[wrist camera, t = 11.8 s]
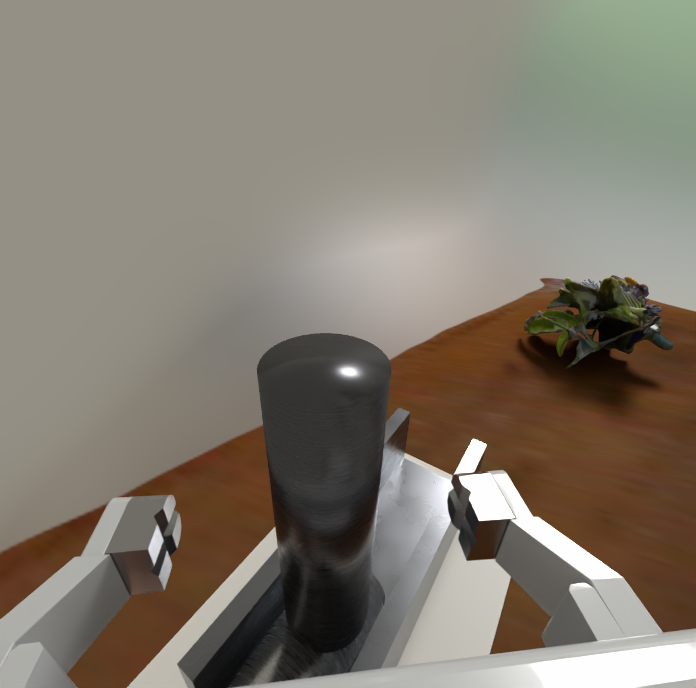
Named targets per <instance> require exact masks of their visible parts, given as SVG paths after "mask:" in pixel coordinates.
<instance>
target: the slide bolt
mask: <svg viewBox="0 0 696 688" xmlns="http://www.w3.org/2000/svg"><path fill="white" fill-rule="evenodd" d="M257 375H258V383H259V392H260V401H261V408H262V418H263V426H264V435H265V443H266V452H267V460H268V469H269V478H270V486H271V495H272V503H273V512H274V520H275V529H276V537H277V546H278V554H279V563H280V572H281V580H282V589H283V597H284V606H285V610H284V611H283V612H282V614H281V615H280V617H279V618H278V619H277V621H276V622H275V623H274V625H273V626H272V627H271V629H270V630H269V631H268V633H267V634H266V636H265V637H264V638H263V640H262V641H261V642H260V644H259V645H258V646H257V648H256V649H255V650H254V652H253V653H252V655H251V656H250V657H249V659H248V660H247V661H246V663H245V664H244V665H243V667H242V668H241V669H240V671H239V672H238V674H237V675H236V676H235V678H234V679H233V680H232V682H231V683H230V684H229V686H228V687H227V688H232V687H240V686H248V685H255V684H263V683H271V682H279V681H287V680H295V679H303V678H311V677H318V676H326V675H334V674H342V673H348V671H349V669H350V667H351V666H352V664H353V662H354V660H355V658H356V656H357V654H358V652H359V651H360V649H361V647H362V645H363V643H364V641H365V639H366V637H367V636H368V634H369V632H370V630H371V628H372V626H373V624H374V622H375V620H376V619H377V617H378V615H379V613H380V611H381V609H382V607H383V605H384V604H385V593H384V590H383V588H382V586H381V584H380V583H379V581H378V580H377V578H376V577H375V576H374V574H373V573H372V563H373V552H374V542H375V532H376V521H377V511H378V501H379V490H380V480H381V470H382V459H383V449H384V439H385V428H386V418H387V408H388V397H389V387H390V377H391V365H390V362H389V359H388V358H387V356H386V355H385V354H384V353H383V352H382V351H381V350H380V349H379V348H378V347H376V346H374V345H373V344H371V343H369V342H367V341H365V340H362V339H359V338H356V337H352V336H348V335H342V334H331V333H320V334H309V335H303V336H299V337H295V338H291V339H288V340H286V341H283V342H281V343H279V344H277V345H275V346H274V347H272V348H271V349H269V350H268V351H267V352H266V353H265V354H264V355H263V356H262V358H261V359H260V361H259V364H258V367H257Z"/></svg>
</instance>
